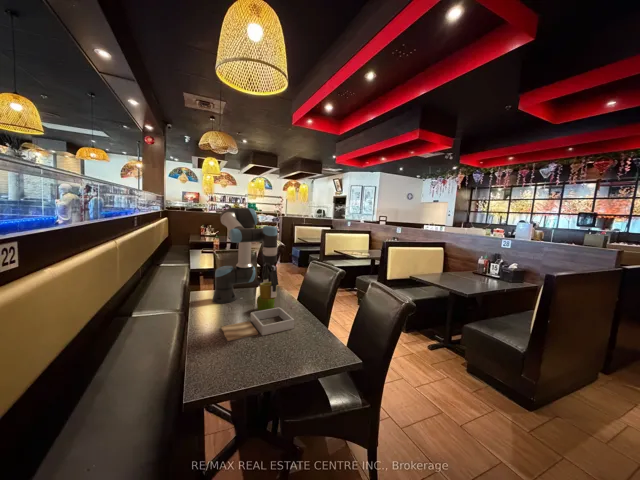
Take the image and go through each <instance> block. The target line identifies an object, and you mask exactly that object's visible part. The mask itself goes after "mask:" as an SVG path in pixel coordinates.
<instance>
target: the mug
mask: <svg viewBox="0 0 640 480" xmlns="http://www.w3.org/2000/svg"><path fill="white" fill-rule="evenodd" d="M271 285H272V283H271V281H268V282H264V283H263V282H260V283H259V296H260V297H261V299H275V300H276V298H277V296H278V295H277V291H278V285H276V297H273V298H271Z"/></svg>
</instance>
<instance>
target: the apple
mask: <svg viewBox="0 0 640 480" xmlns="http://www.w3.org/2000/svg"><path fill="white" fill-rule="evenodd" d="M275 300H276V298H275V299H261V297H260V295H258V297H257V298H256V306H257V307H256V308H257V311H262V310H267V309H273V308H275Z"/></svg>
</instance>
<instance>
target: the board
mask: <svg viewBox="0 0 640 480" xmlns="http://www.w3.org/2000/svg"><path fill="white" fill-rule="evenodd" d="M220 327H221V331H222V332H223V335H224V337H225V339H226V341H227V342H229V341H235V340H238V339H242V338H247V337H251V336H255V335H258V334H259V331H258V330H257V328H256V327H255V326H254V324H253V323H252V322H251V320H247V321H243V322H237V323H232V324H227V325H223V326H220Z"/></svg>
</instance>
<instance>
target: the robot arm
mask: <svg viewBox="0 0 640 480" xmlns="http://www.w3.org/2000/svg"><path fill="white" fill-rule="evenodd" d="M219 221H220V223H221V225H223V226H224V227H226V228H227V230H228V231H229V234H228V237H229V241H230V242H231V243H233V244H234V243H237V244H238V257H237V258H238V260H237V263H236V265H235V267H234V266H233V265H224V266H220V267H218V268H216V269H215V274H214V278H215V282H214V285H215V290H214V293H213V297H212V302H213V303H214V304H228V303H233V302H234V301H236V298H237V295H236V293H235V290H234V285H238V284H239V285H240V284H248V283H253V282H254V280H255V278H256V267H255V266H254V265H253V263H252V243H262V249H261V250H262V254H263V255H262V262H263V264H262V265H263V266H262V272H261V278H262V280H263V282H262V283H264V282H269V279H270V282H271V283H272V285H271V298H273V297H276V298H277V296H276V285H277V286H279V278H278V277H279V276H278V266H276V265H275V263H277V261H278V256H277V255H278V234H279V233H278V227H277V226H275V225H273V226H272V225H264V226H263V227H259V228H255V226H256V225H257V224H258V216H257V213H256V210H255V209H254V208H251V207H229V208H226V209H224V210H223V211H221V214H220V216H219Z"/></svg>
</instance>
